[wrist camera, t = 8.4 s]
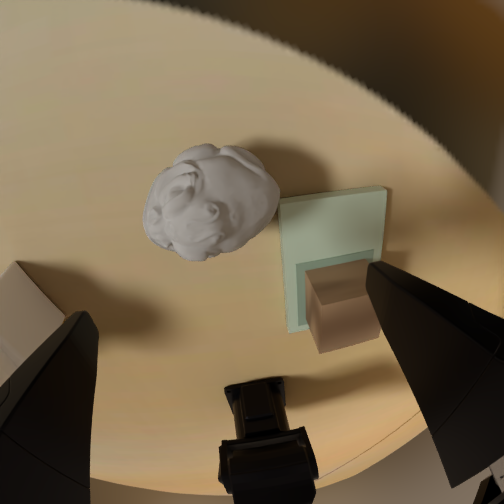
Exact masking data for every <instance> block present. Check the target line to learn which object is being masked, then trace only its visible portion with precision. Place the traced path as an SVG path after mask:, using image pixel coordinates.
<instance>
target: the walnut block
mask: <svg viewBox="0 0 504 504" xmlns="http://www.w3.org/2000/svg"><path fill="white" fill-rule="evenodd" d="M368 264H369V263H368V261H367V260H366V259H360V260H355V261H351V262H346V263H341V264H336V265H331V266H326V267H321V268H316V269H311V270H306V271H305V299H306V320H307V323H308V326H309V328H310V331H311V333H312V336H313V338H314V341H315V343H316V346H317V349H318V351H319V354H321V353H325V352H329V351H333V350H337V349H341V348H344V347H348V346H352V345H355V344H359V343H362V342H366V341H369V340H372V339H376V338H379V334H380V329H381V326H380V324H379V321H378V319H377V316H376V313H375V311H374V308H373V306H372V303H371V301H370V298H369V296H368V293H367V291H366V287H365V282H366V275H367V267H368Z"/></svg>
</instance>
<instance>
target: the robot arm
mask: <svg viewBox="0 0 504 504" xmlns="http://www.w3.org/2000/svg"><path fill="white" fill-rule="evenodd" d="M365 287H366V291H367V293H368V296H369V298H370V301H371V303H372V306H373V308H374V311H375V313H376V316H377V319H378V321H379V324H380V326H381V328H382V330H383V333H384V335H385V337H386V338H387V340H388V342H389V344H390V346H391V348H392V350H393V352H394V354H395V356H396V358H397V360H398V362H399V364H400V366H401V369H402V371H403V373H404V375H405V377H406V379H407V381H408V383H409V385H410V388H411V390H412V392H413V394H414V396H415V398H416V401H417V403H418V405H419V407H420V410H421V412H422V414H423V417H424V419H425V421H426V424H427V426H428V428H429V431H430V433H431V435H433V436H432V438H433V441H434V443H435V446H436V448H437V451H438V453H439V456H440V459H441V461H442V464H443V466H444V469H445V472H446V475H447V477H448V480H449V483H450V486H451V488H454V487H456V486H458V485H460V484H461V483H463V482H465V481H466V480H468V479H470V478H471V477H473V476H475V475H476V474H478V473H479V472H481V471H482V470H484V469H485V468H487V467H489V468H490V471H491V473H492V474H491V475H490V476H488V477H487V478H485V479H484V480H483V481H481V483H480V486H479V489H478V492H477V495H476V497H475V500H474V502H473V504H504V319H503V318H501V317H498V316H496V315H494V314H492V313H490V312H488V311H485V310H483V309H481V308H479V307H477V306H475V305H473V304H472V303H468V302H467V301H465V300H463V299H461V298H459V297H457V296H455V295H453V294H451V293H449V292H447V291H445V290H443V289H441V288H439V287H437V286H435V285H433V284H431V283H428V282H426V281H424V280H422V279H420V278H418V277H416V276H414V275H411V274H409V273H407V272H405V271H403V270H401V269H399V268H396V267H394V266H392V265H390V264H388V263H385V262H383V261H375V262H370V263H369V264H368V267H367V275H366V282H365ZM98 340H99V333H98V329H97V327H96V325H95V324H94V322H93V320H92V318H91V316H90V315H89V313H88V312H87V311H77V312H75V313H73V314H72V315H71V316H70V317H69V318H68V319H67V320H66V321H65V322H64V323H63V324H62V325H61V326H60V327H59V328H57V329H56V330H55V331H54V332H53V333H52V334H51V335H50V336H49V337H48V338H47V339H46V340H45V341H44V342H43V343H42V344H41V345H40V346H39V347H38V348H37V349H36V350H35V351H34V352H33V353H32V354H31V355H30V356H29V357H28V358H27V359H26V360H25V361H24V362H23V363H22V364H21V365H20V366H19V367H18V368H17V369H16V370H15V371H14V373H13V374H12V375H11V376H10V377H9V378H8V379H7V380H6V381H5V382H4V383H3V384H2V385H1V386H0V504H90V489H89V488H90V445H91V427H92V414H93V404H94V394H95V386H96V377H97V357H98ZM224 392H225V395H226V397H227V400H228V403H229V405H230V408H231V410H232V413H233V415H234V421H235V429H236V437H237V439H235V440H222V445H221V446H220V447H219V455H220V464H219V473H218V480H219V482H220V483H222V484H223V485H224V487H225V488H226V491H227V493H228V494H232V495H233V500H234V504H312V503H313V500H314V498H315V494H316V489H315V484H314V480H316V479H318V478H319V474H318V467H317V463H316V459H315V455H314V452H313V449H312V447H311V444H310V441H309V438H308V435H307V432H306V430H305V427H304V426H303V427H299V428H297V429H293V430H290V428H289V424H288V420H287V416H286V412H285V408H284V407H285V405H286V403H285V390H284V380H283V378H281V377H280V378H274V379H269V380H263V381H258V382H252V383H246V384H240V385H234V386H228V387H225V388H224Z"/></svg>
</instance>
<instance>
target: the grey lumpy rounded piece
mask: <svg viewBox="0 0 504 504" xmlns="http://www.w3.org/2000/svg"><path fill="white" fill-rule="evenodd" d="M279 199H280V189H279V187H278V185H277V183H276V181H275V180H274V179H273V178H272V177H271V175H270V174H268V173H267V172H266V171H265V167H264V165H263V164H262V162H261V161H260V160H259V159H258V158H257V157H256V156H255V155H253V154H252V153H251V152H249V151H248V150H245V149H243V148H240V147H237V146H224V147H222V148H221V149H220V148H219V149H217V148H216V147H215V146H214V145H212V144H202V145H199V146H194V147H191V148H189V149H187V150H185V151H183V152H182V153H181V154H179V155H178V156H177V158H176V159H175V160H174V162H173V167H167V168H165V169H164V170H163V171H162V172H161V173H160V174H159V175H158V176H157V177H156V178H155V180H154V182H153V184H152V186H151V188H150V191H149V194H148V197H147V200H146V204H145V208H144V212H143V226H144V229H145V232H146V234H147V236H148V238H149V239H150V240H151V241H152V242H153V243H154V244H156V245H157V246H159V247H161V248H164V249H166V250H170V251H175V252H176V253H178V254H179V255H180V256H181V257H182V258H183V259H186V260H189V261H205V260H206V259H207V258H208V257H209V258H211V257H215V256H217V255H219V254H220V253H227V252H232V251H235V250H237V249H239V248H241V247H242V246H244V245H245V244H246V243H247V242H248V241H249V240H250V239H252V238H254V237H255V236H256V235H258V234H259V233H260V232H261V231H262V230H263V229H264V228H265V227H266V226H267V225H268V224H269V223H270V221H271V219H272V218H273V216H274V214H275V212H276V209H277V206H278V203H279Z"/></svg>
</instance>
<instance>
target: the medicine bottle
mask: <svg viewBox="0 0 504 504" xmlns="http://www.w3.org/2000/svg"><path fill="white" fill-rule="evenodd" d="M64 320H65V315H64V314H63V313H62V312H61V311H60V310H59V309H58V308H57V307H56V306H55V305H54V304H53V303H52V302H51V301H50V300H49V299H48V298H47V297H46V295H45V294H44V293H43V292H42V291H41V290H40V289H39V288H38V287H37V286H36V285H35V284H34V282H33V281H32V280H31V279H30V278H29V277H28V276H27V274H26V273H25V272H24V271H23V270H22V269H21V267H20V266H19V265H18V264H17V263H16V262H12V263H11V264H10V265H9V266H8V267H7V269H6V270H5V271H4V272H3V273H2V274H1V275H0V386H1V385H2V384H3V383H4V382H5V381H6V380H7V379H8V378H9V377H10V376H11V375H12V374H13V373H14V371H15V370H16V369H17V368H18V367H19V366H20V365H21V364H22V363H23V362H24V361H25V360H26V359H27V358H28V357H29V356H30V355H31V354H32V353H33V352H34V351H35V350H36V349H37V348H38V347H39V346H40V345H41V344H42V343H43V342H44V341H45V340H46V339H47V338H48V337H49V336H50V335H51V334H52V333H53V332H54V331H55V330H56V329H57V328H59V327H60V326H61V325H62V324H63V323H64Z"/></svg>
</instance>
